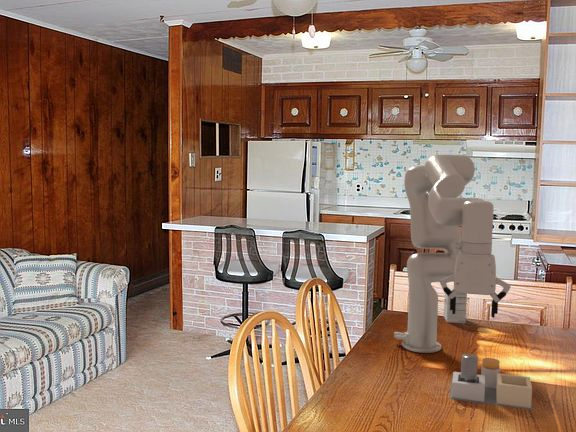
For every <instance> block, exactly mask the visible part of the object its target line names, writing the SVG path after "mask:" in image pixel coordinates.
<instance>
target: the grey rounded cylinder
mask: <svg viewBox="0 0 576 432" xmlns="http://www.w3.org/2000/svg"><path fill="white" fill-rule="evenodd" d="M460 361H461V363H460V373H461V382H469V383H477V375H478V363H479V362H478V361H479V357H478V356H477V355H476V354H471V353H463V354H461V359H460Z"/></svg>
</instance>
